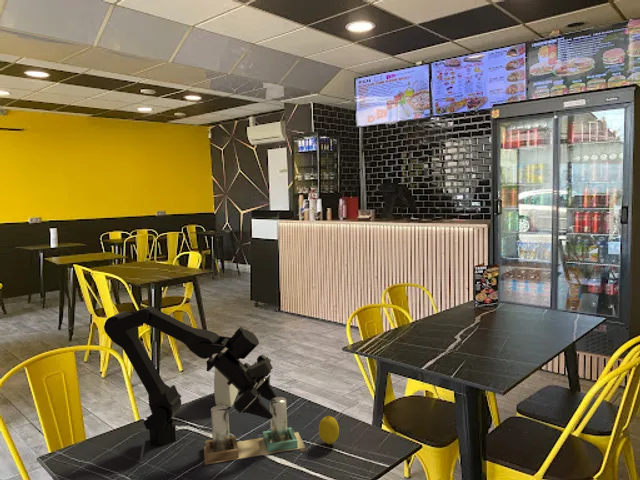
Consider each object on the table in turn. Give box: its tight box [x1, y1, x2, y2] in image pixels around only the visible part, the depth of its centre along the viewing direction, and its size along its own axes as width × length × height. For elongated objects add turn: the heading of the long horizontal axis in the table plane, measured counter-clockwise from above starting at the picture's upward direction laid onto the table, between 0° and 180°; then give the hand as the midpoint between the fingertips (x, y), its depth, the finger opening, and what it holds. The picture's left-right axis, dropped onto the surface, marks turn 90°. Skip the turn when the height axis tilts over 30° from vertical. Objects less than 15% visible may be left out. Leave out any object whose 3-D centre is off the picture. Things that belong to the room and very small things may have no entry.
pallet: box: [203, 426, 307, 465], centre depth 133 cm, size 26×9×3 cm, turn 105°
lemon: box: [318, 415, 340, 445], centre depth 135 cm, size 6×6×8 cm
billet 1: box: [210, 405, 231, 452], centre depth 130 cm, size 4×4×12 cm
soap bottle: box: [213, 347, 239, 408], centre depth 166 cm, size 16×5×20 cm, turn 179°
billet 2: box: [269, 396, 288, 443], centre depth 134 cm, size 4×4×12 cm
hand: (275, 410), depth 134 cm, fingers open, 9 cm apart
